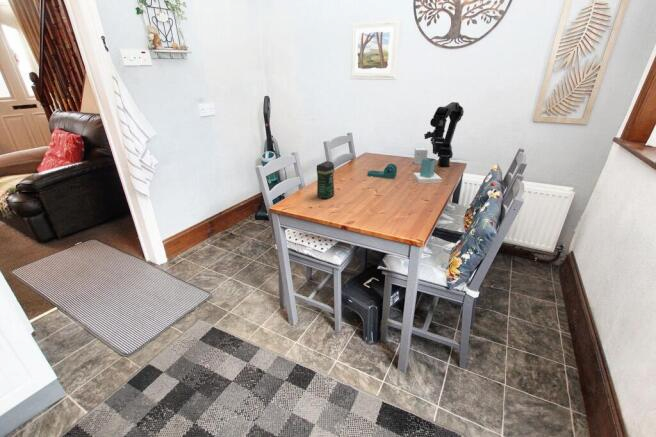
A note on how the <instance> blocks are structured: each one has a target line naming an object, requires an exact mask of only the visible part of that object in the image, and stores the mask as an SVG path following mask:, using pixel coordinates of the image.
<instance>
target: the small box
mask: <svg viewBox="0 0 656 437" xmlns="http://www.w3.org/2000/svg"><path fill="white" fill-rule="evenodd" d="M428 151H429V150H428V148H426V147H415V148H414V154H413V155H414V156H413V157H414V158H413V164H414V165H421V163H422V159H424V158H428Z"/></svg>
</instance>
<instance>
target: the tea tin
mask: <svg viewBox="0 0 656 437" xmlns="http://www.w3.org/2000/svg"><path fill="white" fill-rule="evenodd" d="M436 161H437V159H436V158H430V157H427V158H424V159H422V163H421V164H420V172H419V173H420V176H423V177H429V178H430V177H432V176H433V175H434V173H435V167H436Z"/></svg>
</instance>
